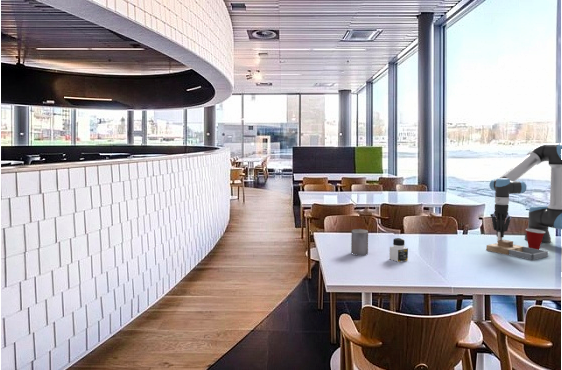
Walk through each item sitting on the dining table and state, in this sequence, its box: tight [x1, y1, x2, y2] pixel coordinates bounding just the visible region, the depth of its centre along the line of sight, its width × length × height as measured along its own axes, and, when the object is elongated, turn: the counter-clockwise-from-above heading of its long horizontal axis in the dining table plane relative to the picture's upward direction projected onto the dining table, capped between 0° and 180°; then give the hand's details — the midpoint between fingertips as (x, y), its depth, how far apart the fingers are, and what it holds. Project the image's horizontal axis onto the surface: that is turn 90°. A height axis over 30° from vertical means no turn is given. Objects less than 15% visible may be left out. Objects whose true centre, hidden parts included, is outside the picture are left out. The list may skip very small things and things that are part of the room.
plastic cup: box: [525, 228, 545, 250], centre depth 275 cm, size 11×11×12 cm
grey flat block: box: [508, 246, 549, 261], centre depth 260 cm, size 15×14×3 cm
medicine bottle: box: [388, 237, 409, 263], centre depth 250 cm, size 7×7×12 cm
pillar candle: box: [350, 228, 369, 256], centre depth 263 cm, size 10×10×15 cm
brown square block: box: [497, 239, 514, 247], centre depth 271 cm, size 6×6×3 cm
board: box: [486, 242, 525, 256], centre depth 272 cm, size 16×14×3 cm
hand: (499, 242), depth 275 cm, fingers closed
